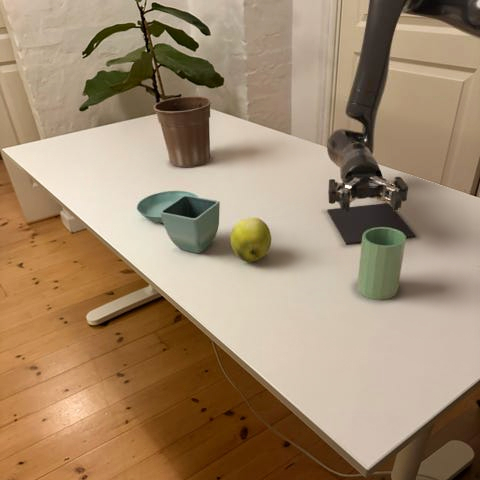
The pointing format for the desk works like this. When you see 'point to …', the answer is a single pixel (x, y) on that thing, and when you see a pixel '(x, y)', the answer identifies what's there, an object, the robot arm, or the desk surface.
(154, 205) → the saucer
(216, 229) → the flower pot
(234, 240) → the apple
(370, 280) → the cup
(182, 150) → the plant pot
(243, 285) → the desk surface
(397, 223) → the mat
